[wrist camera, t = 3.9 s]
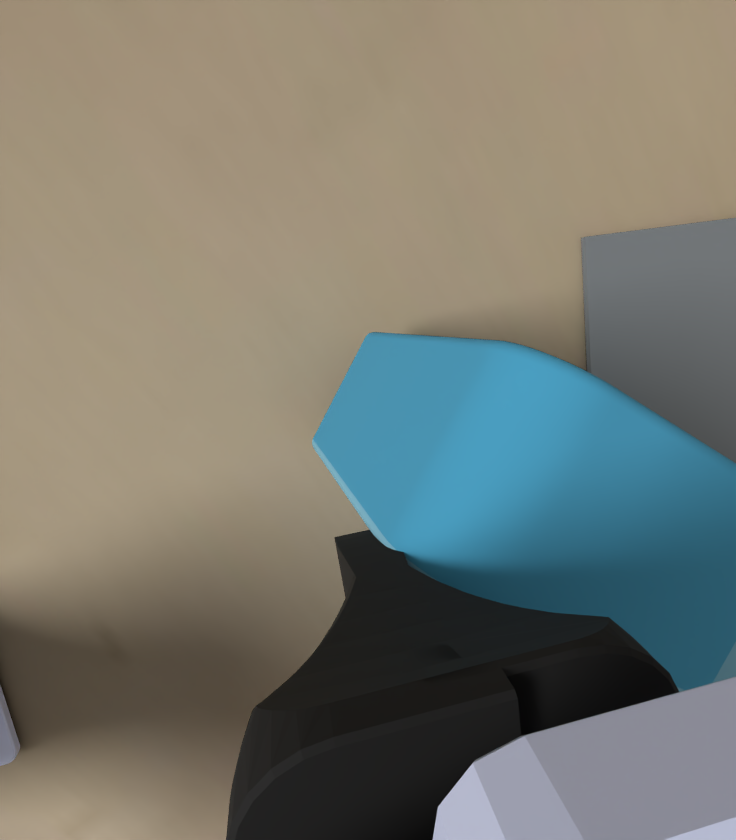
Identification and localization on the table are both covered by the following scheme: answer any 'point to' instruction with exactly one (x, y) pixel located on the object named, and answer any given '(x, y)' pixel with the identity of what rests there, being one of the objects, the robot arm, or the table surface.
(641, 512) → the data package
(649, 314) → the mat
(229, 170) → the table surface
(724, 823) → the robot arm
